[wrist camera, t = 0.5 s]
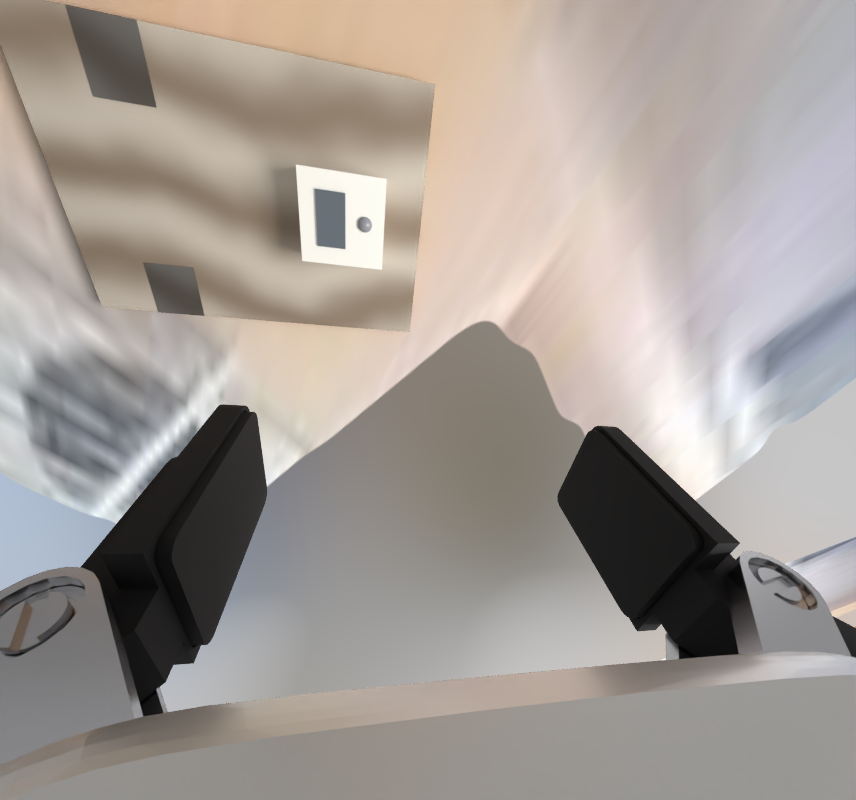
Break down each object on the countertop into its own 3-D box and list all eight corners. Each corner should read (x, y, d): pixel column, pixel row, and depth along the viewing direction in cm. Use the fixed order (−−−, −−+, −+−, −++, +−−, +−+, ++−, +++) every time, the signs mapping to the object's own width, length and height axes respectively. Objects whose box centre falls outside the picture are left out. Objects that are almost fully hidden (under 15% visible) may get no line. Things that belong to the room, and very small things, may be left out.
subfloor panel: (-2, -3, 19) (-24, -15, 18) (432, 88, 24) (435, 83, 23) (112, 303, 28) (101, 307, 27) (408, 327, 33) (409, 332, 32)
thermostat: (304, 167, 24) (295, 164, 22) (386, 180, 25) (386, 178, 23) (309, 254, 27) (301, 261, 25) (381, 263, 28) (382, 270, 26)
